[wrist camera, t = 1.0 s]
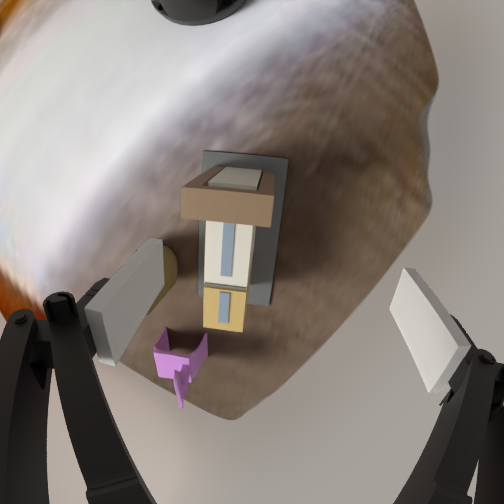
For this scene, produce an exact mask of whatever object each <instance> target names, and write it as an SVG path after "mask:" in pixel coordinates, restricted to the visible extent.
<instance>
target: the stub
mask: <svg viewBox="0 0 504 504" xmlns="http://www.w3.org/2000/svg"><path fill="white" fill-rule="evenodd" d="M252 260H253V256H252ZM251 270H252V261H251V267H250V273H249V279H248V284H247V290H238V289H230V288H222V287H214V286H206V285H204V315H203V327H207V328H214V329H221V330H228V331H236V332H242V331H243V325H244V319H245V313H246V306H247V300H248V294H249V288H250V279H251Z"/></svg>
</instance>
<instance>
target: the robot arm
mask: <svg viewBox="0 0 504 504" xmlns="http://www.w3.org/2000/svg"><path fill="white" fill-rule="evenodd" d="M246 1H247V0H151V2H152V4H153V6H154V7H155V9H156V10H157V11H158V12H159V13H160V14H161V15H162V16H164V17H165V18H166V19H168V20H170V21H172V22H174V23H177V24H181V25H188V26H197V25H205V24H210V23H213V22H216V21H219V20H222V19H224V18H226V17H228V16H230V15H231V14H233V13H234V12H236V11H237V10H238V9H239V8H240V7H241V6H242V5H243V4H244V3H245V2H246ZM164 285H165V283H164V264H163V240H162V239H153V238H149V239H148V240H147V241H146V242H145V243H144V244H143V245H142V246H141V247H140V248H139V249H138V250H137V251H136V252H135V253H134V254H133V255H132V256H131V257H130V258H129V259H128V260H127V262H126V263H125V264H124V265H123V266H122V267H121V268H120V269H119V270H118V271H117V272H116V273H115V274H114V275H113V276H112V278H111V279H108V278H103V279H101V280H100V281H98V282H96V283H95V284H94V285H93V286H92V287H91V288H90V290H88V291H87V292H86V293H85V295H84V296H83V297H82V298H81V299H80V300H79V301H78V302H77V303H76V302H75V298H74V296H73V295H72V294H71V293H69V292H57V293H54V294H51V295H50V296H48V297H47V298H46V299H45V300H44V302H43V307H44V310H45V313H46V316H47V319H48V320H36V318H35V315H34V313H33V311H31V310H29V309H21V310H18V311H15V312H14V313H13V314H12V315H10V317H9V318H8V321H7V323H6V326H5V328H4V331H3V333H2V336H1V339H0V504H49V494H48V481H47V417H48V404H49V392H50V383H51V375H52V369H55V375H56V381H57V386H58V391H59V396H60V400H61V404H62V409H63V413H64V417H65V421H66V425H67V429H68V432H69V436H70V439H71V442H72V446H73V449H74V452H75V455H76V458H77V461H78V464H79V467H80V470H81V472H82V475H83V477H84V480H85V483H86V486H87V491H86V498H87V500H88V503H89V504H157V503H156V502H155V500H154V498H153V496H152V495H151V493H150V492H149V490H148V488H147V486H146V484H145V482H144V481H143V479H142V477H141V475H140V473H139V471H138V470H137V468H136V466H135V464H134V462H133V460H132V458H131V456H130V454H129V452H128V449H127V447H126V445H125V443H124V441H123V439H122V437H121V434H120V432H119V430H118V427H117V425H116V423H115V420H114V418H113V415H112V413H111V410H110V408H109V405H108V403H107V400H106V397H105V395H104V392H103V389H102V386H101V384H100V381H99V378H98V375H97V372H96V369H95V366H94V363H93V360H92V358H93V357H94V355H95V354H96V352H97V355H98V358H99V361H100V362H102V363H105V364H108V365H112V366H116V365H117V363H118V361H119V360H120V358H121V356H122V354H123V353H124V351H125V349H126V347H127V346H128V344H129V342H130V341H131V339H132V337H133V335H134V334H135V332H136V330H137V329H138V327H139V325H140V324H141V322H142V320H143V319H144V317H145V315H146V314H147V312H148V310H149V309H150V307H151V305H152V304H153V302H154V301H155V299H156V297H157V296H158V294H159V293H160V291H161V289H162V288H163V286H164ZM390 311H391V313H392V315H393V317H394V319H395V321H396V323H397V325H398V327H399V329H400V331H401V333H402V335H403V337H404V339H405V341H406V344H407V346H408V348H409V350H410V352H411V354H412V356H413V359H414V361H415V363H416V365H417V367H418V369H419V372H420V374H421V376H422V379H423V381H424V383H425V386H426V388H427V391H428V393H438V392H442V391H443V389H444V388H445V386H446V385H447V384H448V383H449V385H450V387H451V389H450V391H449V392H448V393H447V395H446V396H445V397H444V399H443V400H442V401H441V403H440V404H439V405H440V406H441V405H442V404H443V403H444V404H443V406H442V409H441V412H440V414H439V416H438V419H437V421H436V424H435V426H434V428H433V431H432V433H431V435H430V437H429V440H428V442H427V444H426V446H425V448H424V450H423V452H422V454H421V456H420V458H419V460H418V462H417V464H416V466H415V468H414V470H413V472H412V474H411V475H410V477H409V479H408V481H407V482H406V484H405V486H404V487H403V489H402V491H401V492H400V494H399V495H398V497H397V499H396V500H395V502H394V503H393V504H472V497H470V496H467V492H468V489H469V486H470V483H471V480H472V477H473V475H474V472H475V468H476V466H477V462H478V459H479V463H478V474H477V484H476V492H475V498H474V504H504V406H503V403H504V364H502V363H497V362H496V360H495V358H494V356H493V355H492V354H491V353H489V352H488V351H486V350H483V349H477V347H476V346H475V344H474V343H473V341H472V340H471V339H470V337H469V335H468V334H467V333H466V331H465V330H464V328H462V325H461V324H460V323H459V321H458V320H457V319H456V318H455V317H453V316H452V315H451V314H449V313H448V311H447V310H446V309H445V307H444V306H443V304H442V303H441V302H440V300H439V299H438V298H437V296H436V295H435V294H434V292H433V291H432V290H431V289H430V288H429V286H428V285H427V283H426V282H425V281H424V280H423V278H422V277H421V276H420V275H419V273H418V272H417V271H416V270H415V269H412V268H404V269H403V271H402V274H401V278H400V281H399V284H398V286H397V289H396V292H395V295H394V298H393V300H392V303H391V306H390Z"/></svg>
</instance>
